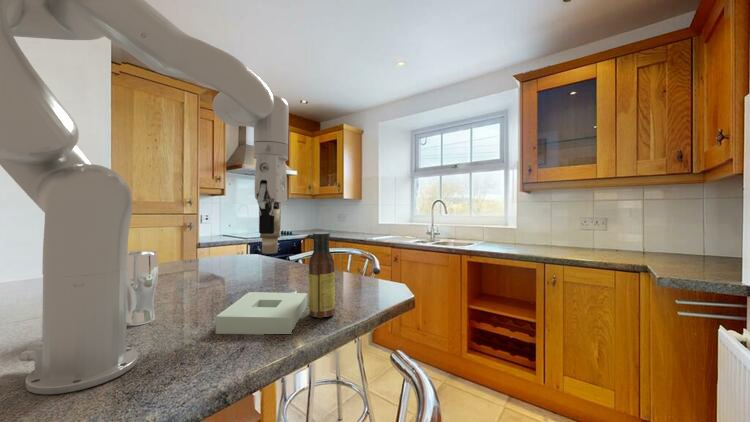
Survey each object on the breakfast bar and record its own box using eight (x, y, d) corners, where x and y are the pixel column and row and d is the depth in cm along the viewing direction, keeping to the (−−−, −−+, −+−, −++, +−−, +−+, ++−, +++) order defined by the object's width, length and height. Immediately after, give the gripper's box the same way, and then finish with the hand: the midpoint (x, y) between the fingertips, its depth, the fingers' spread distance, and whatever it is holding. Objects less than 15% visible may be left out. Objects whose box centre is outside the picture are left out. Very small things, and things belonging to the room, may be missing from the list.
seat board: (215, 333, 64) (215, 316, 64) (248, 305, 82) (248, 292, 82) (290, 334, 64) (290, 317, 64) (307, 306, 82) (307, 293, 82)
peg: (276, 254, 71) (277, 209, 71) (256, 253, 71) (257, 209, 71) (281, 251, 75) (282, 209, 75) (263, 250, 75) (263, 208, 75)
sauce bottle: (337, 311, 79) (339, 232, 79) (331, 320, 73) (333, 234, 73) (311, 310, 80) (313, 231, 80) (303, 318, 74) (305, 233, 73)
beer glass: (111, 323, 68) (112, 253, 68) (146, 313, 74) (147, 249, 74) (128, 329, 65) (129, 256, 65) (164, 319, 71) (165, 252, 71)
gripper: (277, 146, 64) (276, 236, 65) (295, 158, 81) (294, 229, 82) (239, 145, 64) (238, 236, 65) (266, 157, 81) (265, 229, 81)
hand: (270, 231), depth 73 cm, fingers closed on peg, 4 cm apart
